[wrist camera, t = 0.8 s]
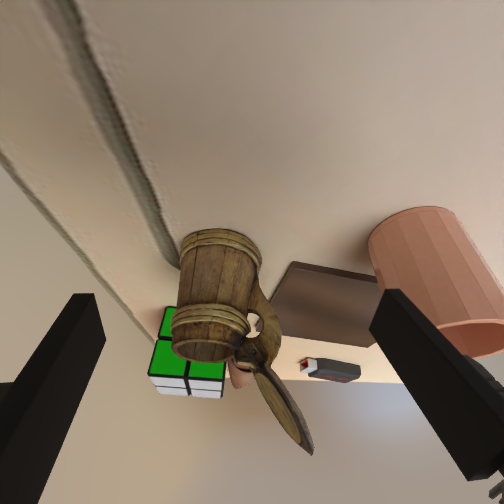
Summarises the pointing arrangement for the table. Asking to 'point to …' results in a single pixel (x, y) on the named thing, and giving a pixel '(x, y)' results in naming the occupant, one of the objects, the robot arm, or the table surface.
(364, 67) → the table surface
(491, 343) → the cup
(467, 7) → the table surface
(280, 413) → the wooden mug
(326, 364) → the usb drive
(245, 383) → the sunglasses case
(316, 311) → the walnut board
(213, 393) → the puzzle cube
